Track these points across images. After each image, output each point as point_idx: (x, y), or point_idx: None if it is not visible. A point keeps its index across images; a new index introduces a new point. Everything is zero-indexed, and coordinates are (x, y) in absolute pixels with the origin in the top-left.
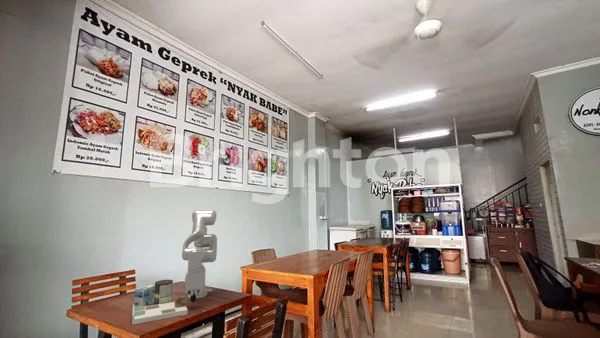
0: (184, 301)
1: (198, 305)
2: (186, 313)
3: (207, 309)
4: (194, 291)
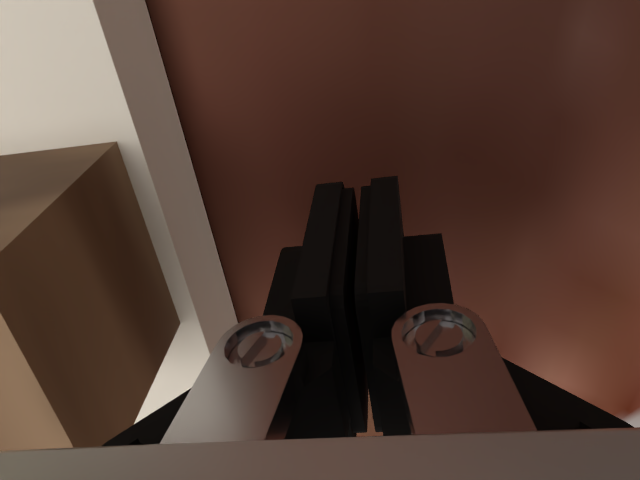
0: (134, 399)
1: (521, 42)
2: None
3: (621, 377)
4: (409, 422)
